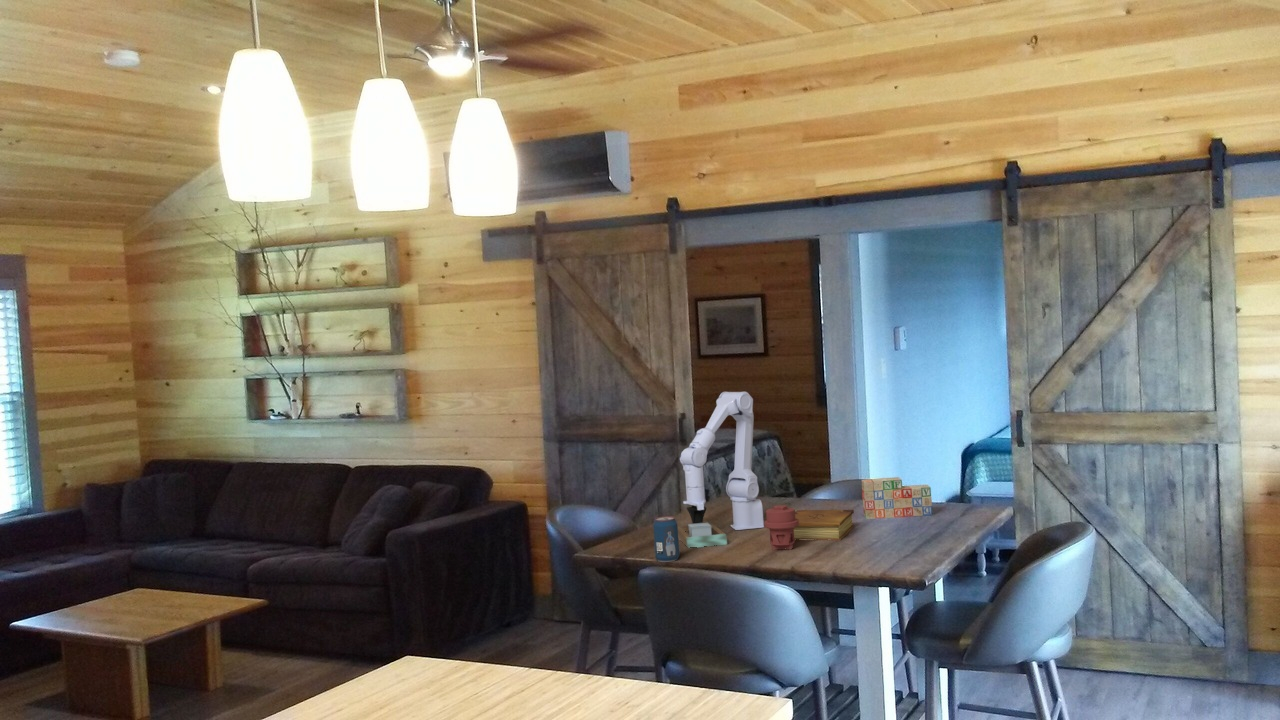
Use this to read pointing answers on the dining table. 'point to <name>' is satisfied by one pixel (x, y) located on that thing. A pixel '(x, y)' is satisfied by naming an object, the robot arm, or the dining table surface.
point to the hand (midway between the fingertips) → (697, 529)
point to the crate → (699, 529)
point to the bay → (703, 537)
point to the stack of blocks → (894, 499)
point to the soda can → (666, 539)
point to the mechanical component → (781, 526)
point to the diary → (823, 524)
